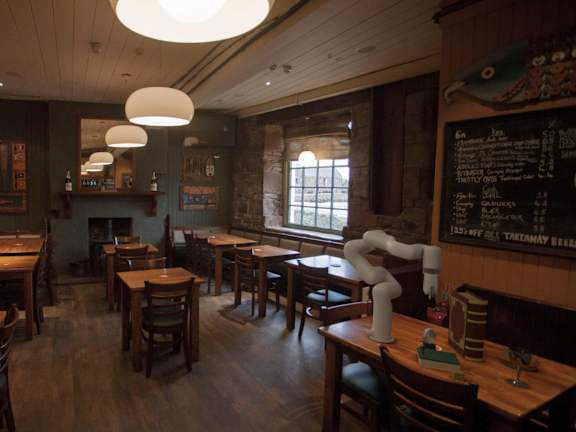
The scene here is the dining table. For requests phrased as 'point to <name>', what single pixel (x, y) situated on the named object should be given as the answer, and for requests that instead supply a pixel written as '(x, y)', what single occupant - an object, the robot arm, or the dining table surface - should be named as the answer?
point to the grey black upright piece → (429, 343)
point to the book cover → (437, 355)
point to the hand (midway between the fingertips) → (430, 304)
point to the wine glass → (519, 363)
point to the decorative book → (467, 324)
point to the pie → (505, 358)
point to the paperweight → (458, 375)
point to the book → (437, 365)
